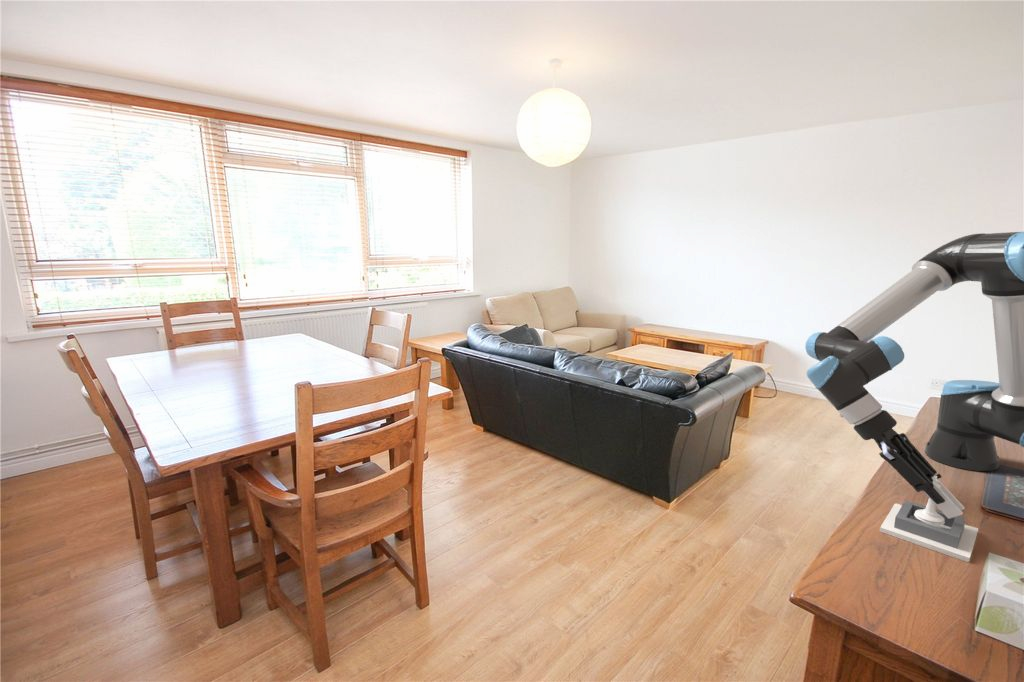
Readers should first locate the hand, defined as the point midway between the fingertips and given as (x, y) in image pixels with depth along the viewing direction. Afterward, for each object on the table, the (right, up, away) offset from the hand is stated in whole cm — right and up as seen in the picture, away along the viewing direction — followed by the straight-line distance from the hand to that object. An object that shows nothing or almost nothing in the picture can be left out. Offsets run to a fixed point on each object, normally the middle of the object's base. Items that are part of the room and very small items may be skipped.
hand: (956, 513), depth 95 cm
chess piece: (-2, -3, +4) cm, 5 cm away
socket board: (-2, -6, +4) cm, 7 cm away
